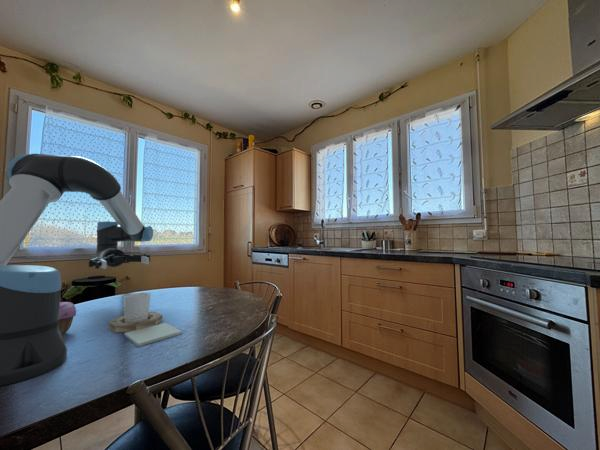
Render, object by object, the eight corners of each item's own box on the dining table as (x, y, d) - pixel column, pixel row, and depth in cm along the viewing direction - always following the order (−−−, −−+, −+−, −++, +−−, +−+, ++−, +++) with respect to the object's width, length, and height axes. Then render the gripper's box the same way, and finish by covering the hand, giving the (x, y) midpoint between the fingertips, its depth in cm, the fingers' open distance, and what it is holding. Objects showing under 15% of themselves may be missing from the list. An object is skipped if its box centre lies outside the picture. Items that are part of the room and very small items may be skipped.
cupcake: (28, 338, 74) (30, 304, 74) (62, 328, 82) (63, 297, 83) (50, 341, 72) (51, 306, 72) (82, 330, 80) (84, 299, 81)
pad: (181, 333, 78) (181, 331, 78) (137, 346, 68) (138, 343, 68) (165, 325, 85) (165, 322, 85) (124, 335, 76) (124, 333, 76)
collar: (150, 330, 81) (150, 324, 81) (99, 333, 78) (100, 326, 78) (166, 316, 95) (166, 311, 95) (124, 318, 92) (124, 313, 92)
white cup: (140, 328, 82) (141, 297, 83) (116, 328, 83) (117, 297, 83) (154, 320, 90) (155, 292, 91) (133, 320, 90) (134, 292, 91)
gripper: (145, 262, 117) (163, 268, 103) (74, 269, 98) (84, 278, 84) (145, 246, 117) (163, 250, 103) (74, 250, 98) (84, 256, 84)
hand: (127, 262), depth 93 cm, fingers open, 13 cm apart
